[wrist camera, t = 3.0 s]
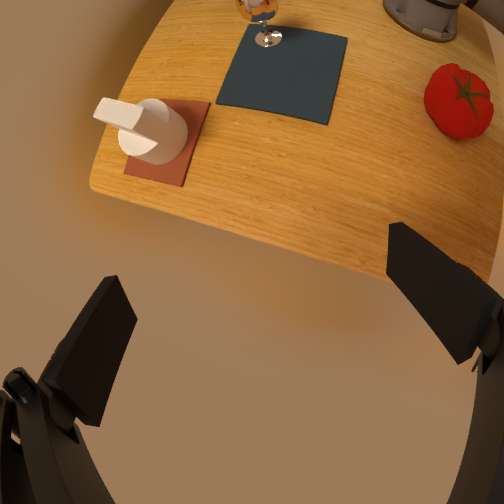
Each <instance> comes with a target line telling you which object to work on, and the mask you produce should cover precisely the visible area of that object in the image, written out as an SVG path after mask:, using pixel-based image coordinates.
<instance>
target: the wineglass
mask: <svg viewBox="0 0 504 504" xmlns="http://www.w3.org/2000/svg"><path fill="white" fill-rule="evenodd" d="M236 6H237V9H238V11H239V13H240V14H241V16H242V17H243V18H245V19H246V20H248V21H251V22H260V23H261V24H262V26H263V27H264V30H263V31H261V32H259V33H258V34H257V35H256V37H255V41H256V43H257V44H258V45H260V46H263V47H271V46H274V45H276V44H278V43H279V42H280V41H281V39H282V35H281V34H280V32H278V31H276V30H272V29H268V30H267V27H266V23H267V20H270V19H271V18H273V17H274V16H275V15H276V13H277V11H278V1H277V0H236Z"/></svg>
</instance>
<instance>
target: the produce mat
mask: <svg viewBox="0 0 504 504" xmlns="http://www.w3.org/2000/svg"><path fill="white" fill-rule="evenodd" d="M158 100H160V101H162V102H164V103H165V104H166V105H167V106H169V107H170V108H171V109H173V110H174V111H175V112H176V113H178V114H179V115H180V116H181V117H182V118H183V119H184V120H185V122H186V124H187V128H188V135H187V140H186V143H185V145H184V147H183V149H182V150H181V152H180V153H179V154H178V155H177V156H176V157H175V158H174V159H172V160H171V161H169V162H167V163H164V164H158V165H155V164H151V163H149V162H146V161H143V160H141V159H138V158H136V157H133V156H130V155H129V157H128V160H127V163H126V167H125V170H124V174H127V175H132V176H136V177H141V178H145V179H149V180H154V181H158V182H162V183H166V184H170V185H174V186H179V187H182V186H183V183H184V179H185V176H186V173H187V170H188V166H189V163H190V160H191V157H192V154H193V151H194V148H195V145H196V142H197V139H198V136H199V133H200V130H201V128H202V125H203V122H204V119H205V116H206V114H207V111H208V108H209V106H210V103H209V102H198V101H186V100H167V99H158Z"/></svg>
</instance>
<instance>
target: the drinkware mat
mask: <svg viewBox="0 0 504 504" xmlns="http://www.w3.org/2000/svg"><path fill="white" fill-rule="evenodd" d="M266 27H267V30H268V29H272V30H276V31H278V32H280V34H281V35H282V39H281V41H280V42H279V43H278V44H276V45H274V46H271V47H263V46H260V45H258V44H257V43H256V41H255V37H256V35H257V34H258V33H259V32H261V31H263V30H264V27H263V26H262V25H261V24H249V25H248V27H247V29H246V31H245V34H244V36H243V38H242V40H241V42H240V44H239V47H238V49H237V51H236V53H235V56H234V58H233V60H232V63H231V65H230V67H229V70H228V72H227V74H226V77H225V79H224V82H223V84H222V87H221V89H220V92H219V94H218V97H217V100H216V102H215V103H216V104H219V105H227V106H234V107H241V108H248V109H254V110H260V111H265V112H271V113H276V114H281V115H286V116H290V117H295V118H299V119H303V120H308V121H312V122H316V123H320V124H323V125H327V124H328V120H329V116H330V112H331V108H332V104H333V99H334V95H335V91H336V87H337V83H338V78H339V74H340V70H341V65H342V61H343V56H344V51H345V47H346V42H347V38H346V37H342V36H338V35H333V34H328V33H323V32H318V31H312V30H306V29H300V28H292V27H284V26H274V25H266Z"/></svg>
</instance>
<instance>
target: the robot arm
mask: <svg viewBox="0 0 504 504" xmlns="http://www.w3.org/2000/svg"><path fill="white" fill-rule="evenodd" d="M460 3H462V4H464V5H465V6H467V7H468V8H470V9H471V10H473V11H474V12H475V13H477V14H478V15H480V16H481V17H482V18H484V19H485V20H486V21H487V22H489V23H490V24H491V25H492V26H494V27H495V28H496V29H497V30H499V31H500V32H501V33H502V34H504V0H383V6H384V9H385V10H386V12H387V13H388V15H389V16H390V17H391V18H392V19H393V20H394V21H396V22H397V23H398V24H399V25H401V26H402V27H404V28H405V29H407V30H408V31H410V32H412V33H414V34H416V35H418V36H420V37H422V38H425V39H428V40H431V41H435V42H448V41H450V40H451V39H452V38H453V37H454V35H455V33H456V30H457V10H458V7H459V5H460ZM386 274H387V275H388V277H389V278H390V279H391V280H392V281H393V282H394V283H395V285H396V286H397V287H398V288H399V289H400V290H401V292H402V293H403V294H404V295H405V296H406V297H407V299H408V300H409V301H410V302H411V303H412V305H413V306H414V307H415V309H416V310H417V311H418V312H419V314H420V315H421V316H422V317H423V319H424V320H425V321H426V322H427V324H428V325H429V326H430V327H431V329H432V330H433V331H434V333H435V334H436V335H437V337H438V338H439V339H440V341H441V342H442V344H443V345H444V346H445V347H446V349H447V350H448V352H449V353H450V355H451V356H452V357H453V359H454V360H455V361H456V363H457V364H458V365H459V364H460V363H463V362H464V361H466V360H468V359H470V358H471V357H472V355H473V353H474V352H475V350H476V348H477V346H478V347H479V348H480V350H481V353H480V354H479V356H478V358H477V360H476V362H475V364H474V366H473V368H472V372H474V370H475V369H476V367H477V366H478V371H477V373H478V374H477V385H476V394H475V401H474V408H473V414H472V420H471V426H470V430H469V435H468V440H467V443H466V448H465V451H464V455H463V459H462V462H461V465H460V469H459V472H458V475H457V478H456V481H455V484H454V487H453V489H452V492H451V494H450V497H449V499H448V502H447V504H504V299H503V298H502V297H501V296H500V295H499V294H498V293H497V292H495V291H494V290H493V289H492V288H491V287H490V286H489V285H488V284H487V283H486V282H484V281H482V279H481V278H480V277H479V276H478V275H477V276H476V274H475V273H474V272H473V271H472V270H470V269H469V268H468V267H466V266H464V265H462V264H460V263H456V262H455V261H454V260H452V259H451V258H450V257H449V256H447V255H446V254H445V253H444V252H442V251H441V250H440V249H438V248H437V247H436V246H434V245H433V244H432V243H431V242H429V241H428V240H427V239H425V238H424V237H422V236H421V235H420V234H418V233H417V232H416V231H414V230H413V229H411V228H410V227H409V226H407V225H406V224H404V223H403V222H398V223H392V224H389V238H388V256H387V269H386ZM137 320H138V319H137V317H136V315H135V313H134V311H133V309H132V307H131V305H130V303H129V301H128V299H127V296H126V294H125V292H124V290H123V288H122V285H121V283H120V281H119V279H118V276H117V275H114V276H109V277H105V278H104V279H103V280H102V282H101V283H100V284H99V286H98V287H97V289H96V290H95V292H94V293H93V295H92V296H91V297H90V299H89V300H88V302H87V303H86V305H85V306H84V308H83V309H82V311H81V313H80V314H79V315H78V317H77V319H76V320H75V322H74V323H73V325H72V326H71V328H70V330H69V331H68V333H67V335H66V336H65V338H64V339H63V340H62V341H61V342H60V343H59V344H58V346H57V348H56V349H55V353H53V355H52V356H51V360H49V362H48V363H47V365H46V367H45V369H44V371H43V373H42V374H41V376H40V379H39V380H38V382H37V384H36V383H35V381H34V380H33V379H32V378H31V377H30V376H29V374H28V373H27V372H26V371H25V370H24V369H23V368H22V367H18V368H15V369H13V370H12V371H11V372H9V374H8V375H7V376H6V378H5V380H4V382H3V388H4V389H5V390H6V391H7V392H8V393H9V395H10V396H11V397H12V398H10V396H9V395H8V394H7V393H6V392H5V391H3V390H0V504H115V502H114V500H113V498H112V497H111V495H110V493H109V492H108V490H107V488H106V486H105V485H104V482H103V481H102V479H101V477H100V475H99V473H98V471H97V469H96V467H95V465H94V463H93V460H92V458H91V456H90V454H89V451H88V449H87V447H86V444H85V442H84V440H83V437H82V435H81V432H80V429H79V427H78V426H77V425H76V424H75V423H74V421H75V418H76V417H77V418H78V419H79V420H80V421H81V422H83V423H84V424H85V425H90V426H96V427H100V424H101V420H102V417H103V414H104V410H105V407H106V404H107V401H108V398H109V395H110V392H111V389H112V386H113V383H114V380H115V377H116V375H117V372H118V369H119V366H120V363H121V361H122V358H123V355H124V353H125V350H126V347H127V345H128V342H129V340H130V337H131V335H132V332H133V330H134V327H135V325H136V322H137ZM11 432H12V433H13V434H14V435H15V436H17V437H18V438H19V439H20V444H18V443H16V442H15V441H14V440H13V439H12V438H11Z"/></svg>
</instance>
